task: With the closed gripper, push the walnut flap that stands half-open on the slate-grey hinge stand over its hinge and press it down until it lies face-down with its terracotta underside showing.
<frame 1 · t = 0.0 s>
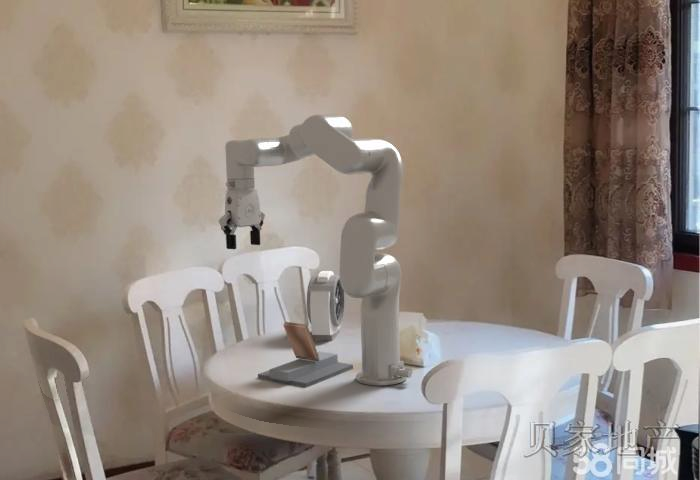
hand: (243, 246, 232), 31 cm above the table, tool pointing down, fingers open, 9 cm apart
stand: (307, 372, 218), on the table
flap: (301, 342, 215), point 9 cm above the table, hinge at 65.0°
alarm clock: (327, 337, 257), on the table
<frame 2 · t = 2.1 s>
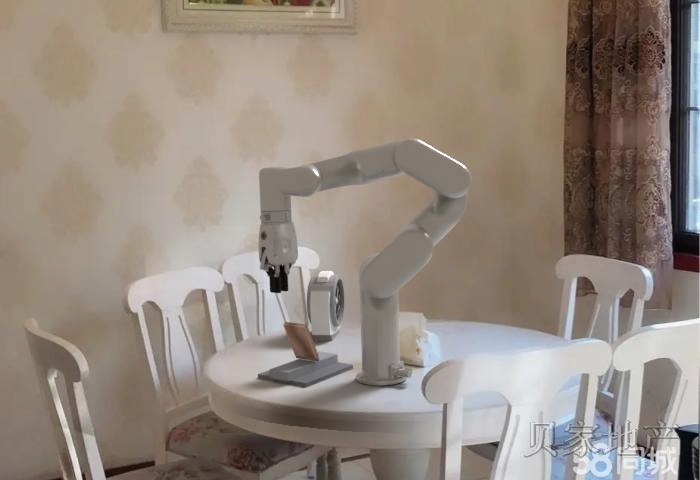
hand: (279, 291, 207), 23 cm above the table, tool pointing down, fingers closed
nothing on the table moved.
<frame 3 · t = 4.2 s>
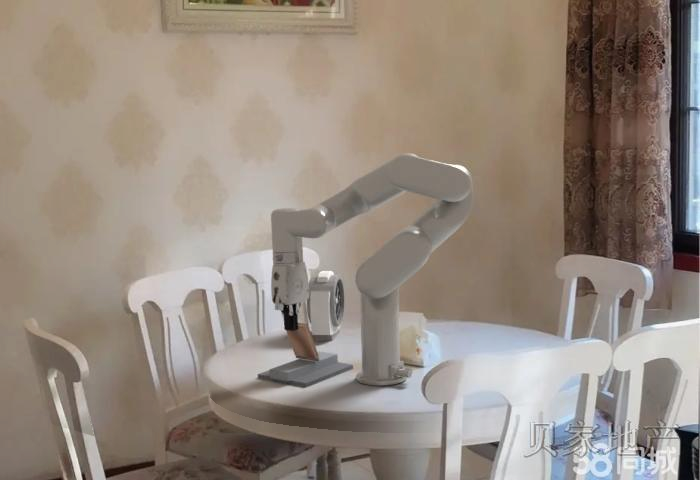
hand: (291, 329, 211), 13 cm above the table, tool pointing down, fingers closed
flap: (301, 341, 215), point 9 cm above the table, hinge at 66.7°, touching gripper
everything else where it was.
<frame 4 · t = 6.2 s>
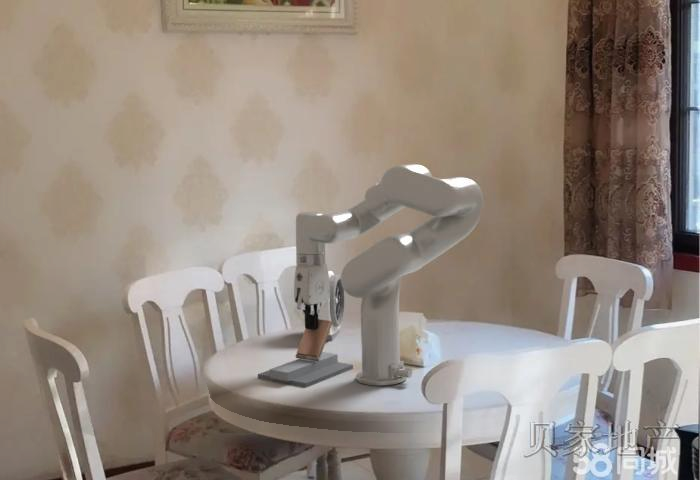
hand: (311, 328, 220), 11 cm above the table, tool pointing down, fingers closed
flap: (313, 339, 219), point 8 cm above the table, hinge at 125.5°, touching gripper
everything else where it was.
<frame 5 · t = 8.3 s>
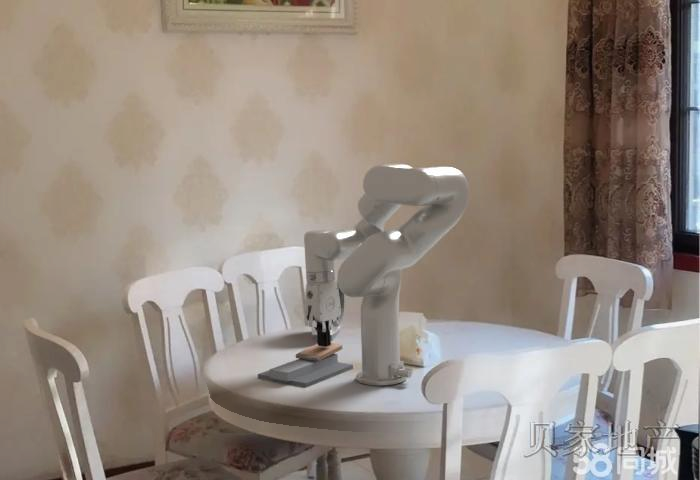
hand: (324, 345, 222), 6 cm above the table, tool pointing down, fingers closed
flap: (319, 351, 221), point 4 cm above the table, hinge at 175.0°
everything else where it was.
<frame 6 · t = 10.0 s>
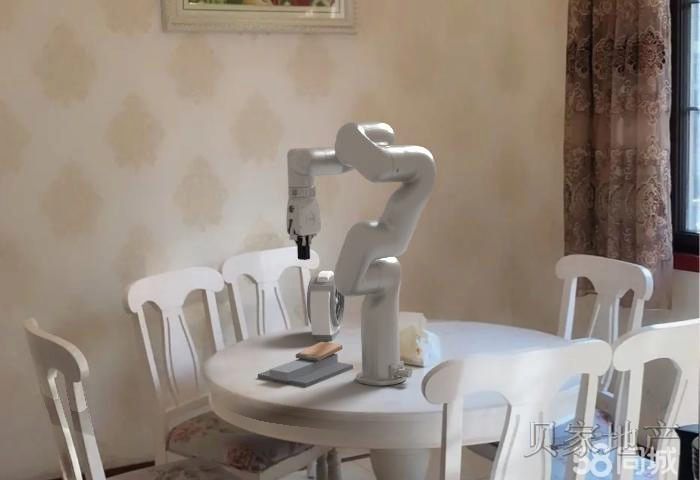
hand: (303, 259, 232), 27 cm above the table, tool pointing down, fingers closed
nothing on the table moved.
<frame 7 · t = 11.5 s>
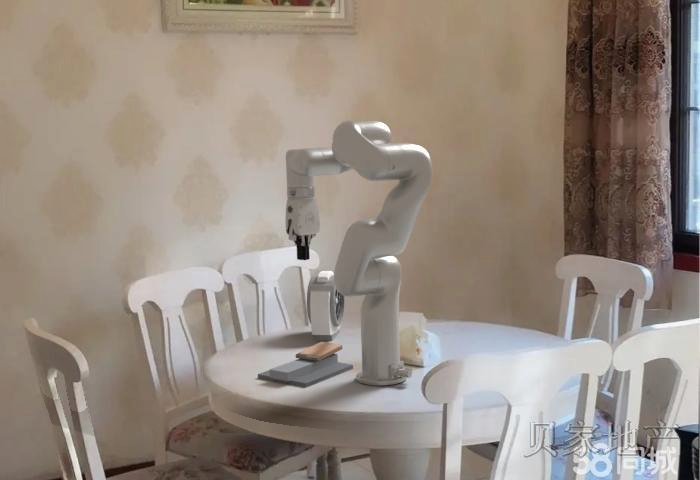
hand: (303, 259, 233), 27 cm above the table, tool pointing down, fingers closed
nothing on the table moved.
at the end: flap at +175° (first picture: +65°); the gripper is holding nothing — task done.
